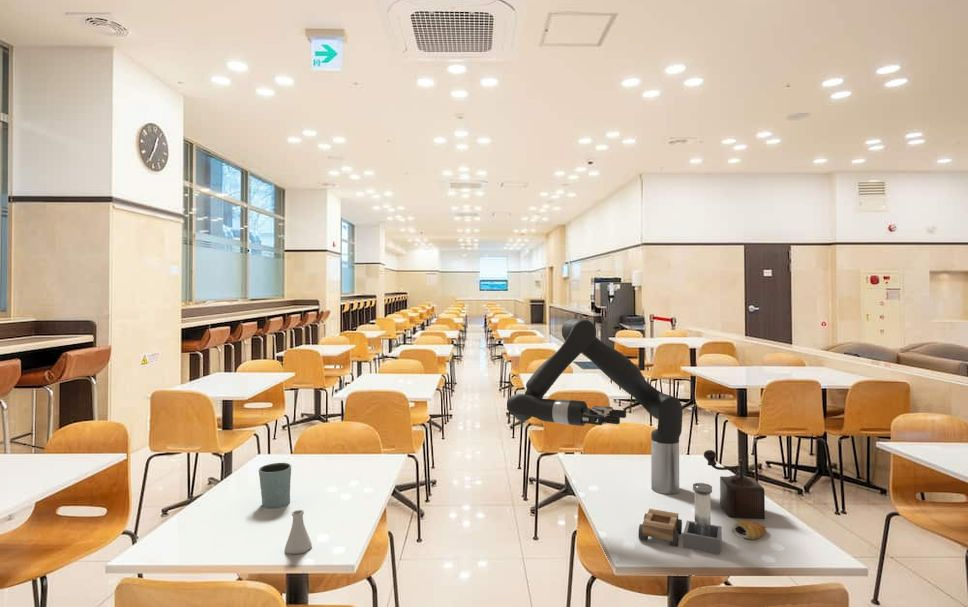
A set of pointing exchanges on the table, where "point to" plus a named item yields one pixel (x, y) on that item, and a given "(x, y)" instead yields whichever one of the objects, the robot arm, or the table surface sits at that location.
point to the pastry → (748, 529)
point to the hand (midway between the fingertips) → (622, 417)
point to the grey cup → (275, 484)
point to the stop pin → (702, 509)
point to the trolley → (661, 526)
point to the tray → (702, 539)
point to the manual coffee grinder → (739, 492)
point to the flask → (298, 535)
